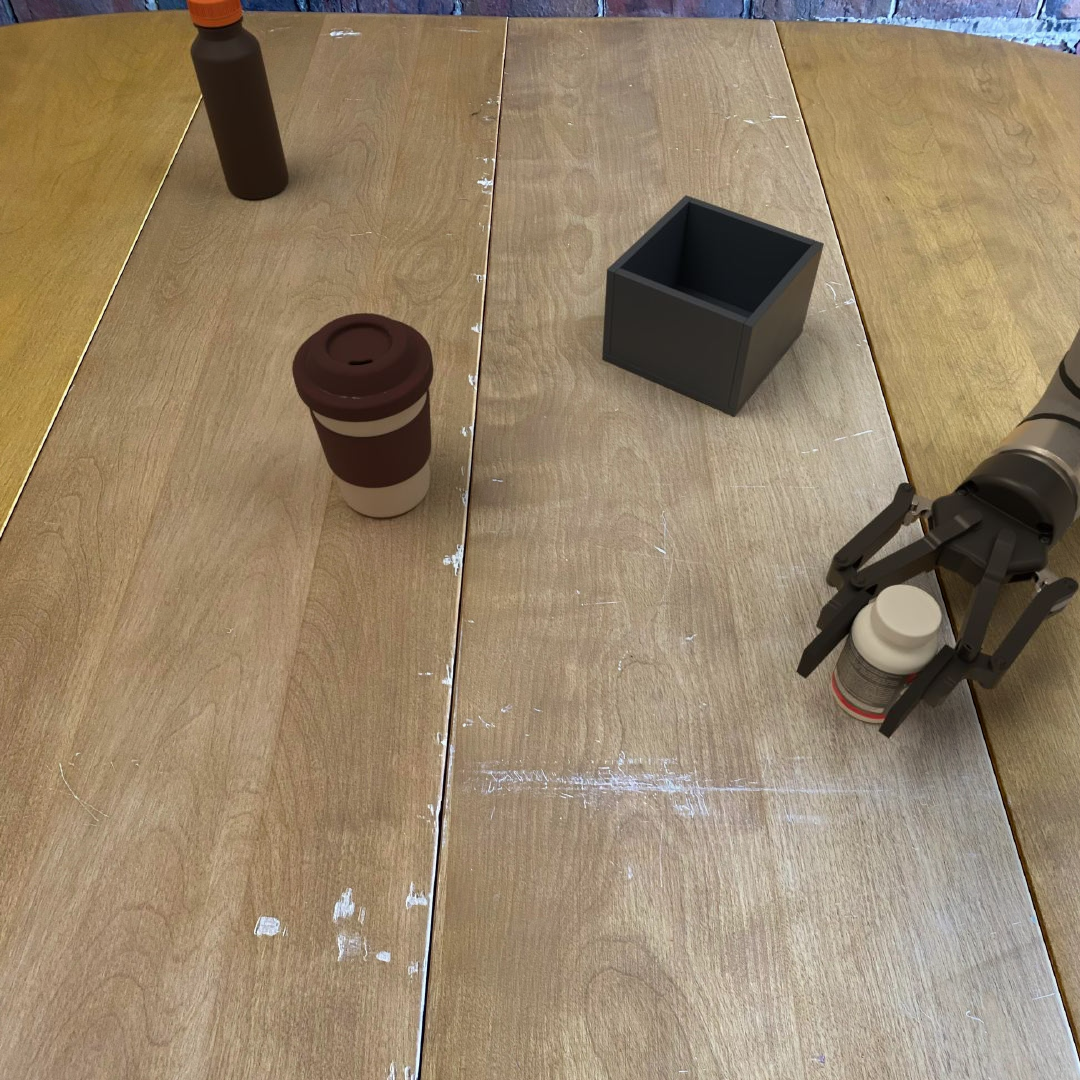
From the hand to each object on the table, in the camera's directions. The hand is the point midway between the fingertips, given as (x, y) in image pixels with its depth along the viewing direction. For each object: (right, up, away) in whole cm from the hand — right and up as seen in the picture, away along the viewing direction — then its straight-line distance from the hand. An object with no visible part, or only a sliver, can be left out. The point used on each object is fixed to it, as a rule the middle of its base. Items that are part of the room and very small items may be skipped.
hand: (846, 693), depth 61 cm
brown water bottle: (-50, +49, +48) cm, 85 cm away
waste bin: (-4, +27, +30) cm, 41 cm away
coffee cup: (-32, +14, +20) cm, 40 cm away
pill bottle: (+4, -1, +7) cm, 8 cm away
